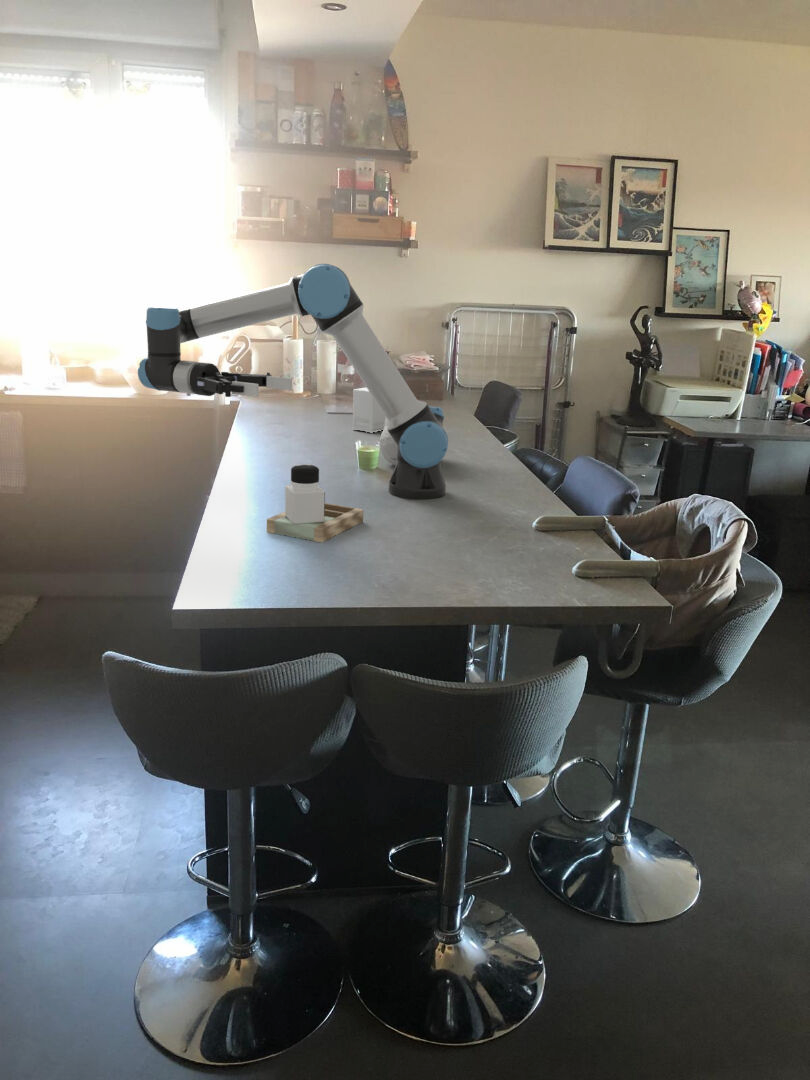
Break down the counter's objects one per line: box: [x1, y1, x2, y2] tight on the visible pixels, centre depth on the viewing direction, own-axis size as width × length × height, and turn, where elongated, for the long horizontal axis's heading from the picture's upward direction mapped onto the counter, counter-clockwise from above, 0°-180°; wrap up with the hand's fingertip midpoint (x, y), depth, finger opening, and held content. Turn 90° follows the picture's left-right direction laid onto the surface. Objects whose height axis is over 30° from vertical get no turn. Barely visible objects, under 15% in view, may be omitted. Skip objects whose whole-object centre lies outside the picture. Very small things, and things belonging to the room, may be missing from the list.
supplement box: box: [352, 386, 386, 431], centre depth 313 cm, size 9×9×15 cm
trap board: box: [266, 502, 364, 543], centre depth 196 cm, size 19×14×3 cm
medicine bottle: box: [284, 463, 326, 524], centre depth 190 cm, size 7×7×12 cm
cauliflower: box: [378, 418, 397, 466], centre depth 264 cm, size 20×25×22 cm
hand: (275, 387), depth 195 cm, fingers open, 13 cm apart
